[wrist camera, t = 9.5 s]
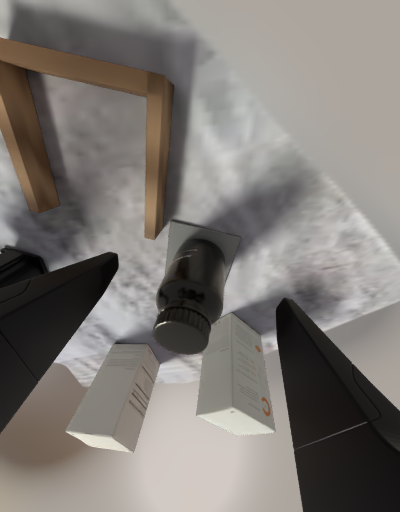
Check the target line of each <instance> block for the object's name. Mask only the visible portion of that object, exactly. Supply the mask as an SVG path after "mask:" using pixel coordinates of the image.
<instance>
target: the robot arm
mask: <svg viewBox="0 0 400 512" xmlns="http://www.w3.org/2000/svg"><path fill="white" fill-rule="evenodd" d="M0 251H1V253H2V254H0V433H1V432H2V431H3V429H4V428H5V427H6V425H7V424H8V423H9V421H10V420H11V419H12V417H13V416H14V414H15V413H16V412H17V411H18V409H19V408H20V406H21V405H22V404H23V402H24V401H25V400H26V398H27V397H28V396H29V394H30V393H31V392H32V390H33V389H34V388H35V386H36V385H37V384H38V381H40V379H41V378H42V377H43V375H44V374H45V372H46V371H47V370H48V368H49V367H50V366H51V364H52V363H53V362H54V360H55V359H56V358H57V356H58V355H59V354H60V352H61V351H62V350H63V348H64V347H65V345H66V344H67V343H68V341H69V340H70V339H71V337H72V336H73V335H74V333H75V332H76V331H77V329H78V328H79V327H80V325H81V324H82V322H83V321H84V320H85V318H86V317H87V316H88V314H89V313H90V312H91V310H92V309H93V308H94V306H95V305H96V304H97V302H98V301H99V300H100V298H101V297H102V295H103V294H104V292H105V291H106V289H107V287H108V286H109V284H110V282H111V280H112V279H113V277H114V275H115V274H116V272H117V270H118V267H119V263H118V255H117V254H116V253H113V252H107V253H104V254H101V255H98V256H95V257H93V258H90V259H87V260H84V261H81V262H78V263H75V264H72V265H69V266H66V267H63V268H61V269H58V270H55V271H52V272H49V273H47V271H46V268H45V266H44V263H43V261H42V258H41V257H39V256H36V255H32V254H28V253H23V252H19V251H15V250H11V249H7V248H3V249H1V250H0ZM276 330H277V343H278V349H279V356H280V363H281V369H282V375H283V382H284V389H285V395H286V402H287V408H288V415H289V421H290V428H291V435H292V441H293V448H294V455H295V462H296V468H297V475H298V481H299V488H300V494H301V501H302V507H303V512H400V411H399V410H398V409H397V408H396V407H395V406H394V405H393V404H392V403H391V402H390V401H389V400H388V399H387V398H386V397H385V396H384V395H383V394H382V393H381V392H380V391H379V390H378V389H377V388H376V387H375V386H374V385H373V384H372V383H371V382H370V381H369V380H368V379H367V378H366V377H365V376H364V375H363V374H362V373H361V372H360V371H359V370H358V369H357V367H356V366H355V365H354V364H352V362H351V361H350V360H349V359H348V358H347V357H346V356H345V355H344V354H343V353H342V352H341V351H340V350H339V349H338V347H337V346H336V345H335V344H334V343H333V342H332V341H331V340H330V339H329V338H328V337H327V336H326V335H325V334H324V333H323V331H322V330H321V329H320V328H319V327H318V326H317V325H316V324H315V323H314V322H313V321H312V320H311V319H310V318H309V317H308V316H307V315H306V313H305V312H304V311H303V310H302V309H301V308H300V307H299V306H298V305H297V304H296V303H295V302H294V301H293V300H292V299H288V298H283V299H282V301H281V302H280V304H279V305H278V306H277V308H276Z"/></svg>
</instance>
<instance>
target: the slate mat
mask: <svg viewBox="0 0 400 512" xmlns="http://www.w3.org/2000/svg"><path fill="white" fill-rule="evenodd" d="M191 239H206V240H209V241H211V242H213V243H215V244H216V245H217V246H218V247H219V248H220V249H221V250H222V252H223V254H224V256H225V281H226V278H227V275H228V272H229V270H230V267H231V264H232V261H233V259H234V256H235V253H236V250H237V248H238V245H239V242H240V239H241V237H239V236H235V235H231V234H226V233H222V232H218V231H214V230H209V229H205V228H201V227H197V226H192V225H188V224H184V223H179V222H175V221H170V230H169V239H168V249H167V259H166V268H165V274H166V272H167V270H168V268H169V266H170V264H171V262H172V260H173V258H174V256H175V254H176V252H177V250H178V249H179V247H180V246H181V245H182V244H183V243H185V242H186V241H188V240H191ZM224 283H225V282H224Z"/></svg>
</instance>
